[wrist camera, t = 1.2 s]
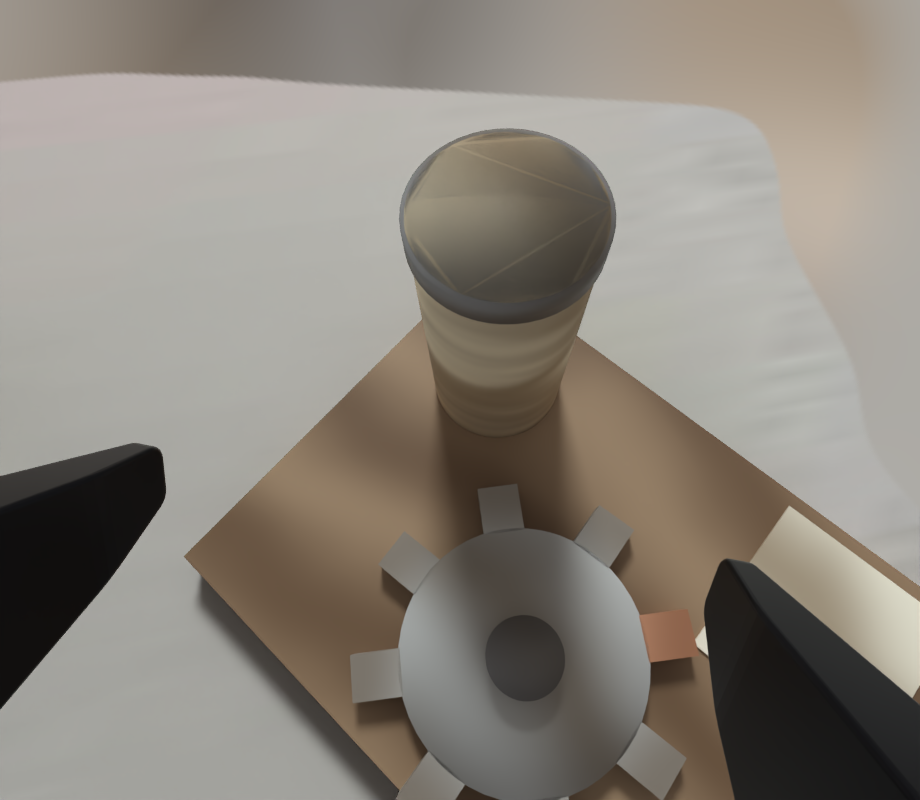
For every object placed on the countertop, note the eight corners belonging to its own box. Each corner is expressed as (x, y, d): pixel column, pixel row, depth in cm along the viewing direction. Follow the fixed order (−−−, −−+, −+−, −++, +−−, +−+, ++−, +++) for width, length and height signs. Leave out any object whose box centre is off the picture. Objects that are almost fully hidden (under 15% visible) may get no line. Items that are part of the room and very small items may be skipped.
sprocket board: (693, 1089, 17) (742, 1196, 14) (201, 561, 22) (157, 551, 19) (952, 634, 21) (1036, 637, 18) (478, 282, 26) (477, 237, 23)
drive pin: (504, 466, 22) (521, 350, 12) (406, 385, 23) (354, 222, 14) (587, 372, 23) (659, 200, 14) (489, 299, 24) (494, 97, 15)
